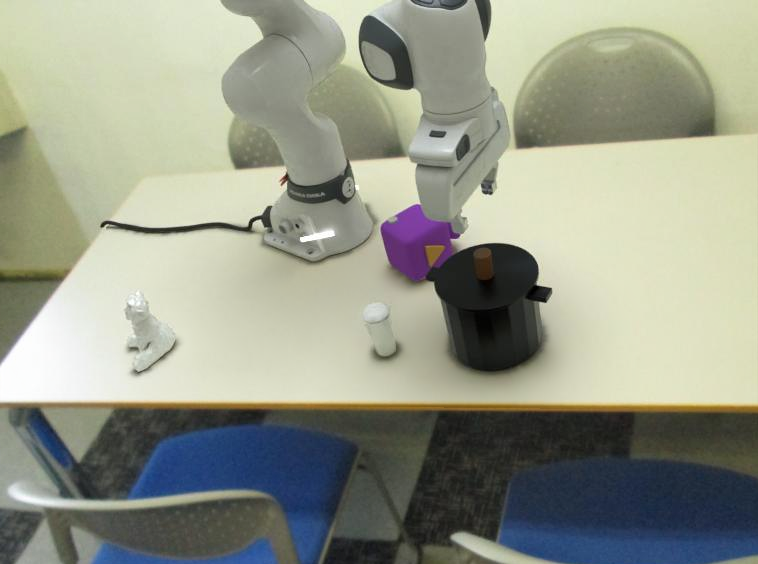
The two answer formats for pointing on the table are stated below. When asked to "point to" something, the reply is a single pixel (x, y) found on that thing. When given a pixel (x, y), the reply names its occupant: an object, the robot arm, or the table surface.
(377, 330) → the milkshake
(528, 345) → the pot
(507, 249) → the pot lid
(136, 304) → the sitting furry creature
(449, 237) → the toy camera
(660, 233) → the table surface
